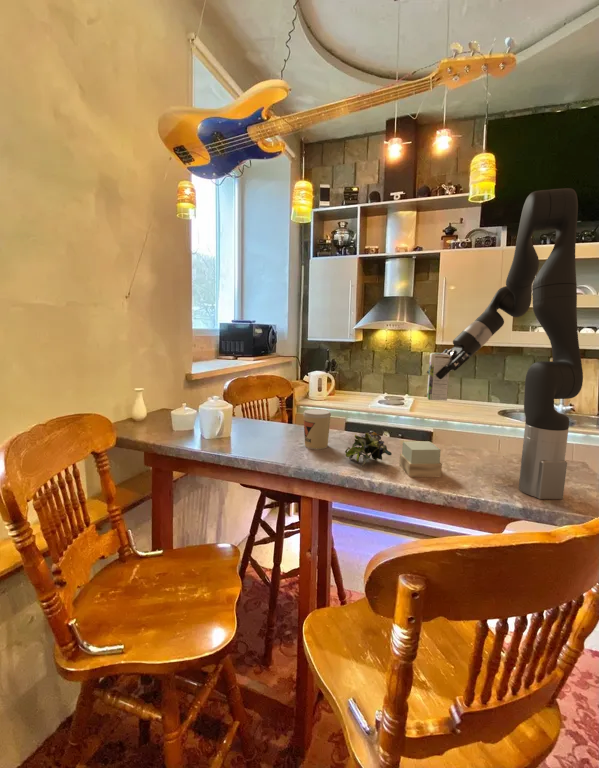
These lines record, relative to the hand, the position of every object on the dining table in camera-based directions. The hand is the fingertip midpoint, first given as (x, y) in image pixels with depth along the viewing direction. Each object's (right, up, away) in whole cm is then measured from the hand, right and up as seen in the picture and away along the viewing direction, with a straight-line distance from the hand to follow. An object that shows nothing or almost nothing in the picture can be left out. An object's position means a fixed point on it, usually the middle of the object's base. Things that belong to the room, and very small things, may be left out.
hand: (433, 375), depth 128 cm
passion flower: (-22, -27, -6) cm, 35 cm away
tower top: (-8, -24, -12) cm, 28 cm away
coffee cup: (-36, -24, +11) cm, 45 cm away
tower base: (-8, -28, -11) cm, 31 cm away
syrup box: (+2, -8, +1) cm, 8 cm away
